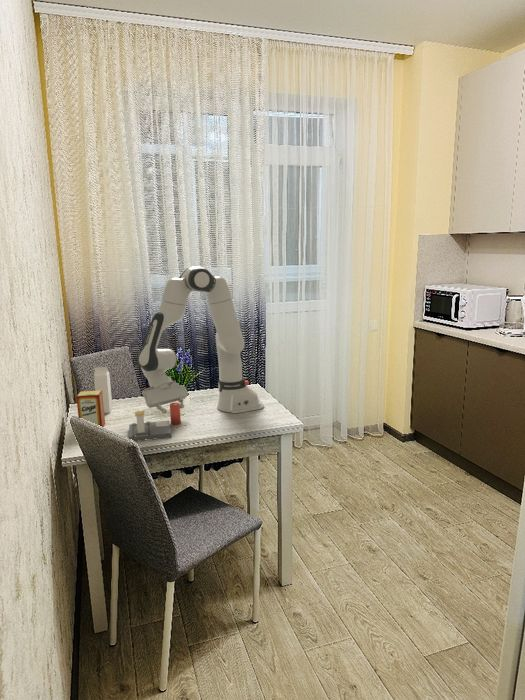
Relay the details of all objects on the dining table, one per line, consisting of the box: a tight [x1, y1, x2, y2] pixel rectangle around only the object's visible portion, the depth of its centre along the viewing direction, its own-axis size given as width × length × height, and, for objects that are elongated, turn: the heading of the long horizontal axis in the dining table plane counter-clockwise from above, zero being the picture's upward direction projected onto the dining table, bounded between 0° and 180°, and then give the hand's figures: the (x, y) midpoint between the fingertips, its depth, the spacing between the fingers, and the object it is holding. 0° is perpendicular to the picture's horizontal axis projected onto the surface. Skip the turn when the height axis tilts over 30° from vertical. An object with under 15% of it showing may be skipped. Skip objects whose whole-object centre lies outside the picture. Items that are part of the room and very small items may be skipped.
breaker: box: [134, 410, 147, 436], centre depth 204 cm, size 4×5×9 cm
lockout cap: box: [169, 402, 182, 426], centre depth 221 cm, size 4×4×9 cm
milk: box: [93, 366, 113, 414], centre depth 237 cm, size 6×6×22 cm
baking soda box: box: [75, 390, 106, 428], centre depth 217 cm, size 10×6×16 cm
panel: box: [128, 420, 172, 442], centre depth 211 cm, size 17×15×3 cm
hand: (173, 410), depth 221 cm, fingers open, 8 cm apart
